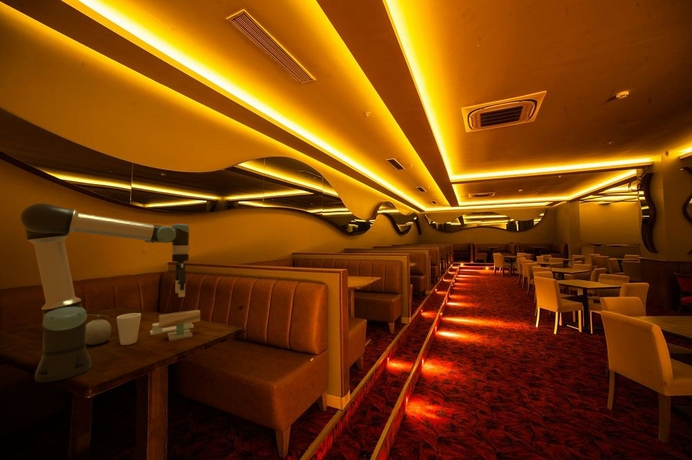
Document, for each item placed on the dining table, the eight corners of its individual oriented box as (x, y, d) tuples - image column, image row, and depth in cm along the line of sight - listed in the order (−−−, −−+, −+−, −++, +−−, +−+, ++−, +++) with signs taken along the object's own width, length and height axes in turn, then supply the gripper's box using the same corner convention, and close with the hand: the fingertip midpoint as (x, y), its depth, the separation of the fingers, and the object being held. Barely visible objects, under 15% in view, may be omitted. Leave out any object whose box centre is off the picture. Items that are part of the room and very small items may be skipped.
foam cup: (112, 344, 135) (112, 316, 136) (134, 338, 144) (134, 312, 144) (122, 347, 131) (123, 319, 131) (144, 341, 139) (144, 314, 140)
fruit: (118, 340, 141) (118, 310, 141) (92, 349, 130) (92, 316, 130) (102, 338, 143) (103, 308, 144) (75, 346, 132) (76, 314, 133)
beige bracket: (193, 327, 160) (193, 319, 160) (150, 335, 148) (150, 326, 148) (191, 325, 164) (191, 317, 164) (150, 332, 152) (150, 323, 152)
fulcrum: (192, 336, 145) (192, 323, 145) (169, 341, 139) (169, 327, 139) (189, 331, 153) (189, 319, 153) (167, 335, 147) (167, 322, 147)
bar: (200, 320, 150) (200, 311, 150) (159, 327, 139) (159, 317, 139) (198, 318, 154) (198, 309, 154) (158, 325, 143) (158, 315, 143)
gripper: (192, 254, 139) (192, 297, 139) (185, 252, 159) (184, 290, 159) (174, 254, 135) (174, 299, 134) (169, 253, 155) (169, 291, 154)
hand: (179, 294), depth 146 cm, fingers open, 13 cm apart
